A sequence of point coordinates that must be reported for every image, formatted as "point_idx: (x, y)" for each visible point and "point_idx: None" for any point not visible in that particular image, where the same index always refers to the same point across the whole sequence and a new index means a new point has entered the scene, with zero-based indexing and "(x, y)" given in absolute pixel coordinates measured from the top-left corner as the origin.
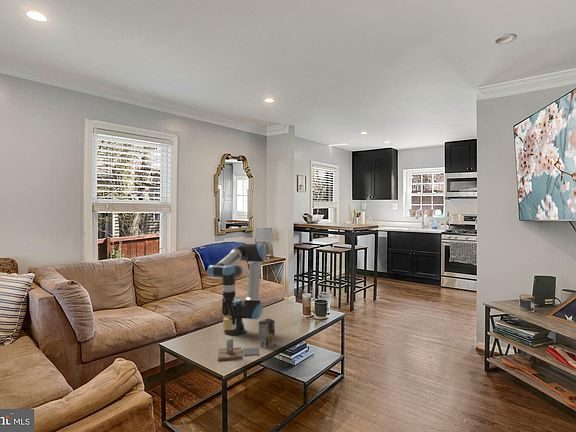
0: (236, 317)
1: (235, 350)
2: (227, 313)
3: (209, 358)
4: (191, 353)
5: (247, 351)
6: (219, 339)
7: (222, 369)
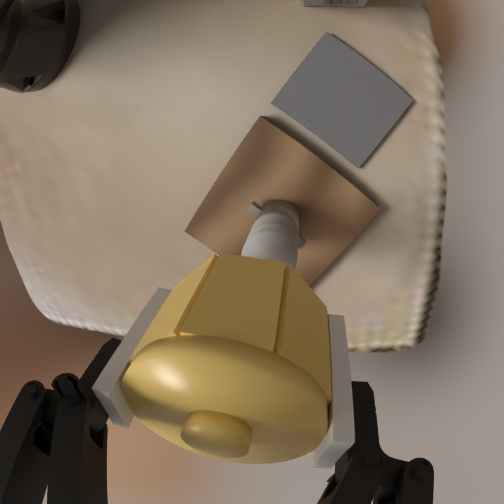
0: (422, 482)
1: (277, 175)
2: (88, 416)
3: None
4: (139, 313)
5: (332, 116)
6: (67, 141)
7: (374, 325)
